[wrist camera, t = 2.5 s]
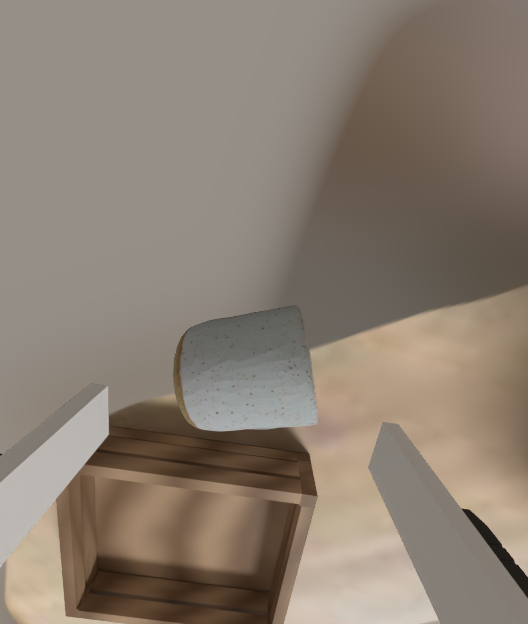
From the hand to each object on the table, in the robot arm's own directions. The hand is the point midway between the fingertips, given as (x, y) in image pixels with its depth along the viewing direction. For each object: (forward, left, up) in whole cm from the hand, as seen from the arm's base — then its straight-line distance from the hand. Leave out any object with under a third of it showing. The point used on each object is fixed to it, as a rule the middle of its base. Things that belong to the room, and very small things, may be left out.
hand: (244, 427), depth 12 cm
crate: (+4, +18, -9) cm, 20 cm away
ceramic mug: (-1, +1, -9) cm, 9 cm away
